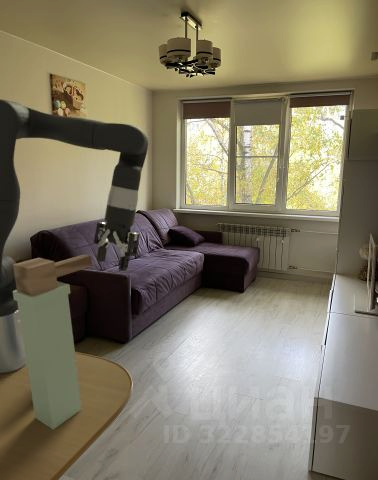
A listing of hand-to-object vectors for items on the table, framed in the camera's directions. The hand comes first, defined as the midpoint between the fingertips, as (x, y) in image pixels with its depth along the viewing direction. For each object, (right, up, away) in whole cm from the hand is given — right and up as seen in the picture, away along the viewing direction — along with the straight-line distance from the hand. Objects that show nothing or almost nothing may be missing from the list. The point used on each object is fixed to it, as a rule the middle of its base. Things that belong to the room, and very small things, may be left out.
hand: (111, 265), depth 97 cm
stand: (-11, -35, -9) cm, 38 cm away
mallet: (-9, -3, -13) cm, 16 cm away
